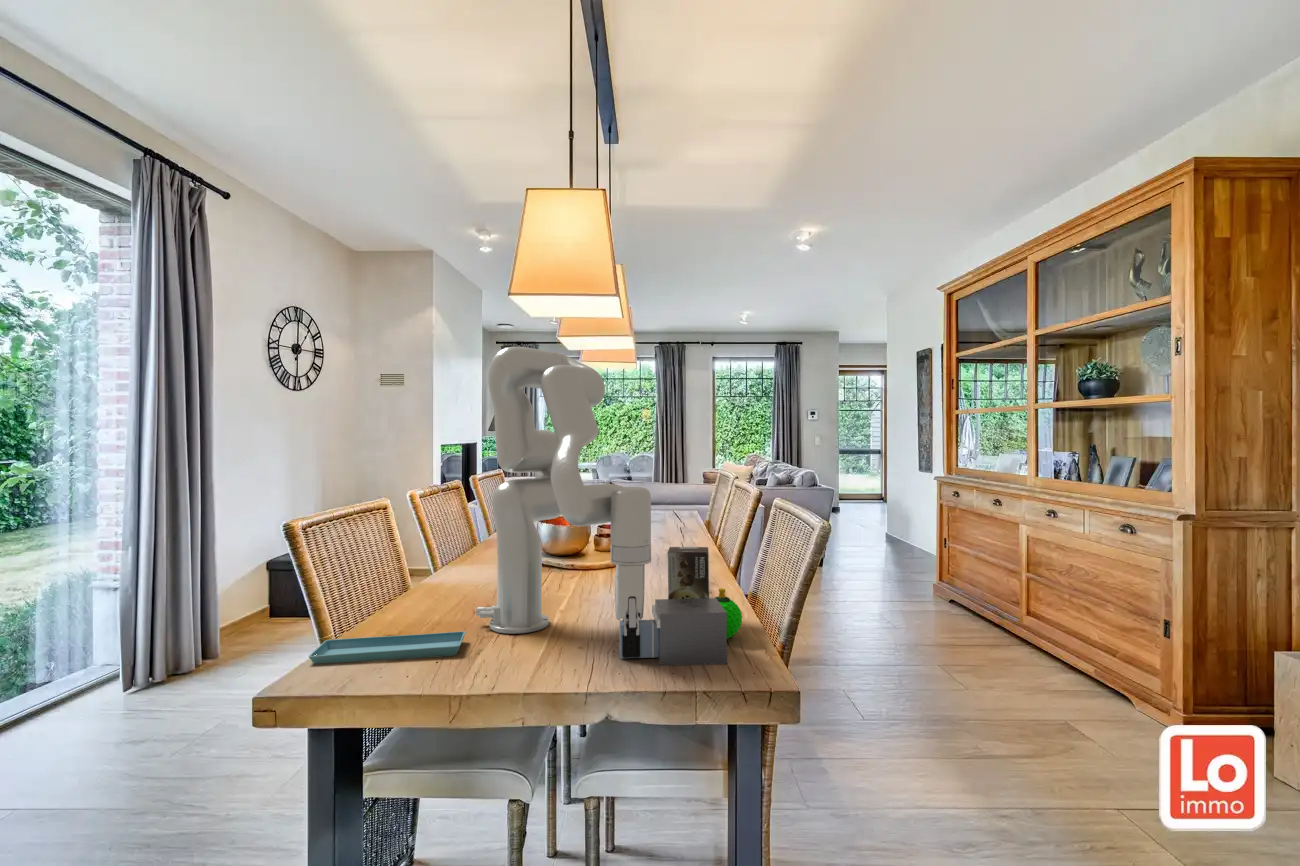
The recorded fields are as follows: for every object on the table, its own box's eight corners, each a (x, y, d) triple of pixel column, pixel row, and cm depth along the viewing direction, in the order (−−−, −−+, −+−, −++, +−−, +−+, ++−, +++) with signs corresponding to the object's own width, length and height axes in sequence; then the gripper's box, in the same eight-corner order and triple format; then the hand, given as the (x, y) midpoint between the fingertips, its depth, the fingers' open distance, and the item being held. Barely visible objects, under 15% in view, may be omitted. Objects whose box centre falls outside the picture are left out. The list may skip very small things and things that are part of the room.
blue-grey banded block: (620, 658, 112) (620, 625, 112) (619, 652, 115) (619, 620, 115) (696, 656, 113) (696, 623, 113) (693, 650, 116) (693, 618, 116)
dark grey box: (656, 665, 109) (656, 614, 109) (651, 647, 119) (652, 599, 119) (726, 663, 110) (726, 612, 110) (716, 645, 120) (716, 598, 120)
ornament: (699, 632, 128) (699, 584, 128) (737, 631, 128) (737, 584, 128) (705, 645, 120) (705, 594, 120) (746, 644, 120) (746, 593, 120)
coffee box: (709, 618, 138) (709, 546, 138) (709, 626, 132) (709, 551, 132) (669, 616, 139) (669, 545, 139) (667, 625, 133) (667, 550, 133)
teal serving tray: (307, 668, 109) (307, 654, 109) (325, 650, 118) (325, 637, 118) (459, 659, 113) (459, 645, 113) (466, 643, 122) (466, 630, 122)
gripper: (609, 546, 121) (609, 639, 121) (611, 563, 105) (611, 670, 105) (647, 546, 122) (647, 638, 122) (654, 562, 106) (654, 669, 105)
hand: (630, 652), depth 113 cm, fingers closed on blue-grey banded block, 3 cm apart
